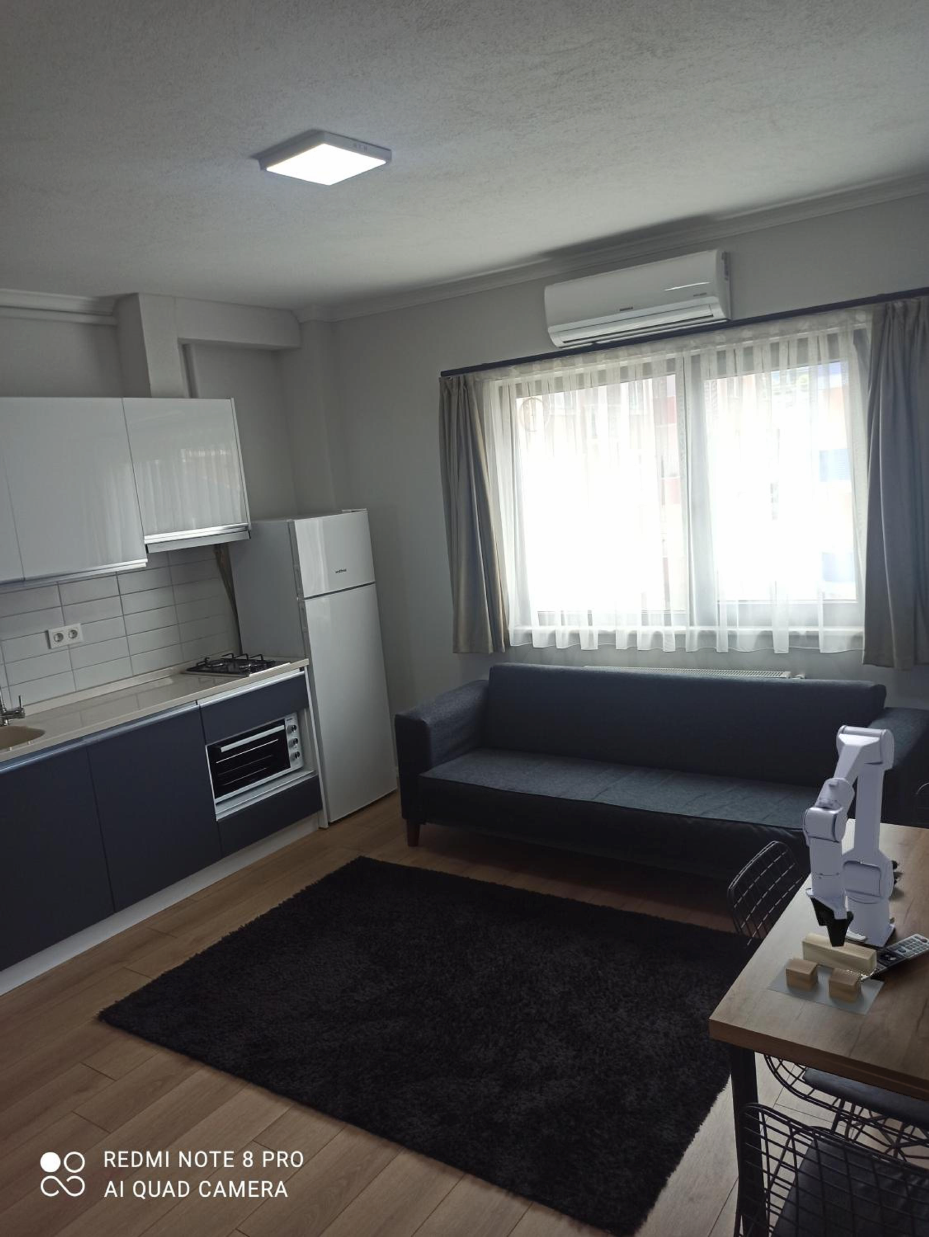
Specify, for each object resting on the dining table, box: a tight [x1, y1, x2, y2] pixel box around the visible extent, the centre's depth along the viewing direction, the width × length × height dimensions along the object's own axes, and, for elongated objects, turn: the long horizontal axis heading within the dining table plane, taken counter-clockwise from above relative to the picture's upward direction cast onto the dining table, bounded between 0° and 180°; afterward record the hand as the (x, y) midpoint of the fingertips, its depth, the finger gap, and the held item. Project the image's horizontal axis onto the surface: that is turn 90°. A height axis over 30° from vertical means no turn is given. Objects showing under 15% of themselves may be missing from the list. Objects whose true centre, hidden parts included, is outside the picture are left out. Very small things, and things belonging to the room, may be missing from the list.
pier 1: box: [786, 957, 818, 991], centre depth 177 cm, size 4×4×4 cm
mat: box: [767, 958, 885, 1016], centre depth 176 cm, size 12×18×1 cm, turn 51°
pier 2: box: [828, 968, 861, 1003], centre depth 172 cm, size 4×4×4 cm
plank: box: [801, 932, 878, 976], centre depth 182 cm, size 4×13×4 cm, turn 46°
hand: (830, 935), depth 176 cm, fingers open, 7 cm apart
